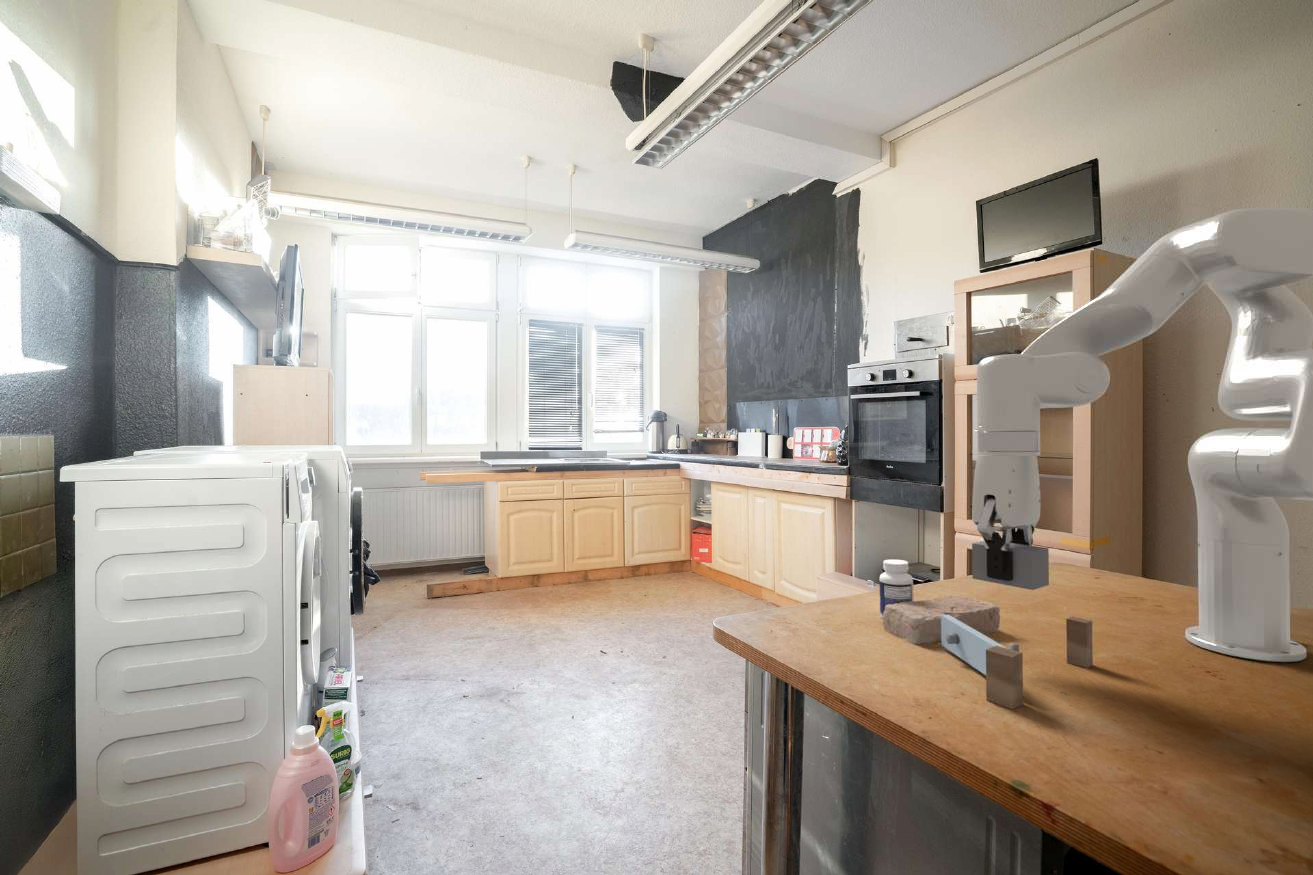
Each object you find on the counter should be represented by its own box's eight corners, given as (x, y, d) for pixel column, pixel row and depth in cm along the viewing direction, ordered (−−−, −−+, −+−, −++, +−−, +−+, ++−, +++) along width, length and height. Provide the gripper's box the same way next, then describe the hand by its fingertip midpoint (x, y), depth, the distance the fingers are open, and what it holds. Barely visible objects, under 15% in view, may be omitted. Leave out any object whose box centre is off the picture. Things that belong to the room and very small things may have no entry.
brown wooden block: (996, 694, 74) (996, 645, 74) (1023, 703, 71) (1022, 652, 71) (986, 699, 73) (985, 649, 73) (1012, 709, 70) (1012, 657, 70)
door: (1022, 695, 73) (1021, 645, 73) (1002, 696, 73) (1002, 646, 73) (949, 646, 90) (948, 605, 90) (933, 647, 90) (932, 606, 90)
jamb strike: (1072, 659, 85) (1072, 616, 85) (1092, 664, 83) (1092, 620, 83) (1066, 662, 84) (1066, 618, 84) (1086, 667, 82) (1086, 623, 82)
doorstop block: (989, 574, 89) (988, 539, 89) (1048, 584, 83) (1048, 548, 83) (972, 578, 87) (972, 543, 87) (1032, 590, 80) (1032, 552, 80)
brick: (916, 647, 91) (916, 616, 91) (880, 630, 99) (879, 601, 99) (1002, 635, 96) (1002, 605, 96) (961, 619, 104) (961, 592, 104)
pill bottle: (884, 611, 108) (884, 557, 108) (917, 616, 105) (916, 560, 105) (876, 619, 104) (875, 562, 104) (909, 625, 101) (908, 566, 101)
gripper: (1010, 443, 92) (1011, 563, 93) (948, 445, 83) (949, 580, 83) (1066, 443, 86) (1067, 572, 86) (1005, 446, 77) (1006, 591, 77)
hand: (1009, 574), depth 85 cm, fingers closed on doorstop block, 4 cm apart
